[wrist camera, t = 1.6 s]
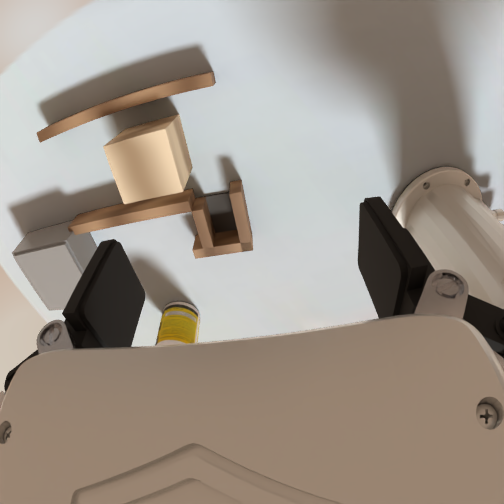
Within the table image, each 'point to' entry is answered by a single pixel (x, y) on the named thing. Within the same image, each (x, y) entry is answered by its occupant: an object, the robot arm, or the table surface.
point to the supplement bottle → (178, 324)
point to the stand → (54, 262)
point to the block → (150, 160)
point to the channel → (203, 208)
